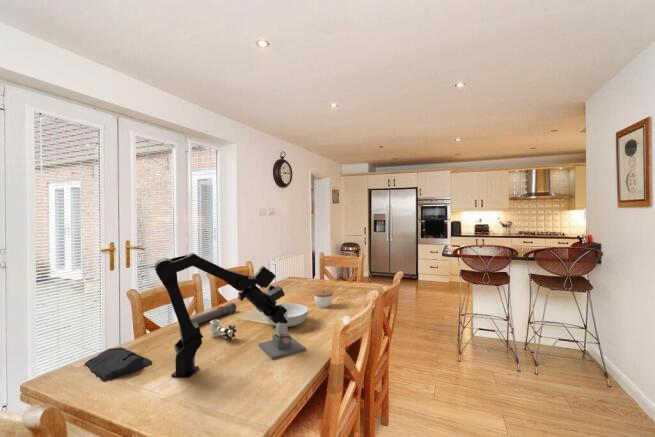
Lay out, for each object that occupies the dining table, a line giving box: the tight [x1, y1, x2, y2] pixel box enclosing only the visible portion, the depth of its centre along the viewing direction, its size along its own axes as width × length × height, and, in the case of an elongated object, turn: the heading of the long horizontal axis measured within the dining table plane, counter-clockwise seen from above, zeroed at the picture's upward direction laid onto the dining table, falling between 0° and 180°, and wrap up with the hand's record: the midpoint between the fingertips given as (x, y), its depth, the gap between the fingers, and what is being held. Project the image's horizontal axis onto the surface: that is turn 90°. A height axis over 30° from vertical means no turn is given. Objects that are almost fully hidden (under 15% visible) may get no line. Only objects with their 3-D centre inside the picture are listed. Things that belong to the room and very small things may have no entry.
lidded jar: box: [313, 289, 334, 309], centre depth 179 cm, size 11×11×9 cm
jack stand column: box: [275, 307, 289, 338], centre depth 124 cm, size 4×4×11 cm
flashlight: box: [190, 302, 237, 325], centre depth 159 cm, size 5×28×5 cm, turn 152°
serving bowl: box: [264, 302, 309, 328], centre depth 151 cm, size 21×21×7 cm
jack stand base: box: [258, 333, 307, 360], centre depth 124 cm, size 14×14×5 cm
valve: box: [209, 319, 237, 342], centre depth 135 cm, size 7×7×12 cm
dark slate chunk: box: [84, 346, 153, 383], centre depth 111 cm, size 15×22×5 cm
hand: (284, 321), depth 125 cm, fingers closed on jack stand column, 4 cm apart
